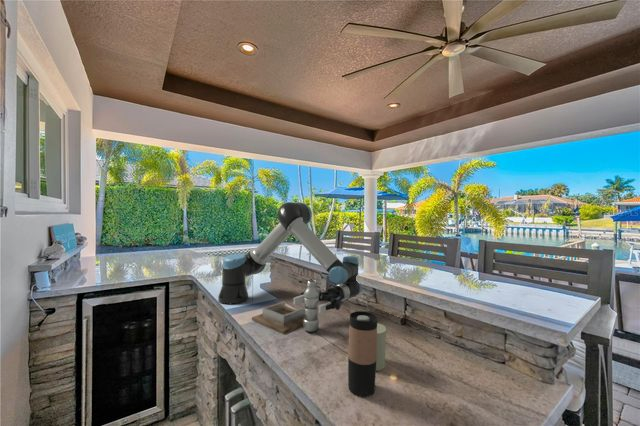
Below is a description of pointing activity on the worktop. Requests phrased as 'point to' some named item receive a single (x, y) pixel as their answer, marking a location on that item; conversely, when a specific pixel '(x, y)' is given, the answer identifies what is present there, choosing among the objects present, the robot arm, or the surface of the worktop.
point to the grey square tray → (273, 314)
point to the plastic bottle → (311, 307)
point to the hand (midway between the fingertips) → (306, 305)
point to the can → (380, 347)
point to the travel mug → (362, 353)
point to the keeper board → (279, 327)
